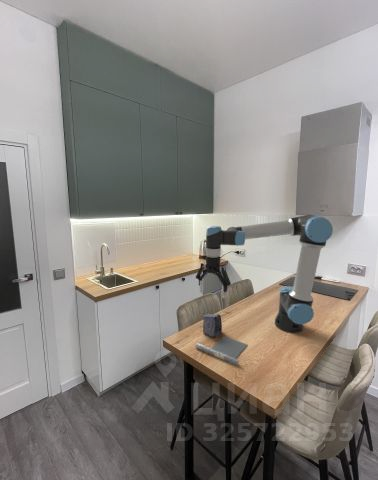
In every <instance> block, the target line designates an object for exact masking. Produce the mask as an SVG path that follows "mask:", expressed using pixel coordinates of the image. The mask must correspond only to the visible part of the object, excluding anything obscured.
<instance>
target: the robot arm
mask: <svg viewBox="0 0 378 480" xmlns="http://www.w3.org/2000/svg"><path fill="white" fill-rule="evenodd" d="M333 231H334V228H333V225H332V223H331V222H330V220H329V219H328V218H325V217H324V216H322V215H314V214H305V215H300V216H295V217H291V218H290V217H289V218H288V219H287V220H281V221H274V222H273V221H272V222H263V223H257V224H250V225H241V226H230V227H228V228H227V229H226V230H223V229H222V227H221V226H219V225H209V226H207V227H206V233H205V234H206V235H205V237H206V238H205V239H206V242H205V255H206V256H205V262H202V263H200V266H199V267H200V268H198V272H197V274H196V275H195V279H197V280H198V286H199V293H202V292H204V291H205V290H204V287H205V286H204V281H205V279H204V278H205V277H206V276H207V275H208V274H213V275H215V276H217V278H218V279H219V281H220V282H221V284H222V285H221V299H225V298H226V293H228V287H229V286H231V285H232V283H231V280H230V277H229V275H228V273H227V268H226V266H221V247H222V246H237V247H238V246H244V245H245V243H246V240H252V239H259V238H268V237H276V236H285V235H289V236H292V237H294V236H300V237H299V241H298V242H299V243H300V244H301V245H300V246H301V248H300V254H299V258H298V262H297V267H296V272H295V277H294V282H293V285H292V286H291V285H290V286H289V285H284V286H281V287H280V290H279V304H278V312H277V314H276V316H275V319H274V326H276V328H278V329H279V330H282V331H285V332H288V333H299V332H302V331H303V329H304V325H306V324H308V323H309V322H311V321H312V320H313V318H314V315H315V314H314V313H315V312H314V309H313V308H312V307H313V302H314V297H313V295H312V289H313V287H314V282H315V277H316V273H317V267H318V265H319V259H320V256H321V250H322V249H323V248H325V247H326V244H327V241H328V240H329V239H330V238H331V237H332V235H333ZM205 268H206V269H205ZM204 269H205V270H204Z"/></svg>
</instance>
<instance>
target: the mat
mask: <svg viewBox="0 0 378 480" xmlns="http://www.w3.org/2000/svg"><path fill="white" fill-rule="evenodd" d="M247 346H248V344H247V343H244V342H242V341H239V340H236V339H235V338H231V337H228V336H227V335H226V336H225V335H224V336H222V337H221V339H219V340H218V341H217V342H216V343H215V344H214V345H213V346H212V347H210V348H211V349H214V350H216V351H218V352H221V353H223V354H226V355H228V356H231V357H233V358H235V359H238V357H239V356H240V355H241V353H242V352H243V351H244V350H245V349H246V347H247Z"/></svg>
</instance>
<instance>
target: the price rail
mask: <svg viewBox="0 0 378 480" xmlns="http://www.w3.org/2000/svg"><path fill="white" fill-rule="evenodd" d="M195 348H196V349H198V350H200V351H202V352H204V353H207V354H209V355H212V357H213V356H214V357H215V358H218V359H220V360H223V361H225V362H227V363H230V364H232V365H234V366H236V367H237V366H239V363H240V360H239V359H238V358H236V359H235V358H233V357H231V356H228V355H226V354H223V353H221V352H218V351H216V350H214V349H211V348H212V347H208V346H206V345H204V344H201V343H199V342H197V343H196V344H195Z"/></svg>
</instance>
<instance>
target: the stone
mask: <svg viewBox="0 0 378 480" xmlns="http://www.w3.org/2000/svg"><path fill="white" fill-rule="evenodd" d="M202 318H203V322H202V333H204V334H206V335H207V336H210V337H212V338H216V337H218V336H219V334H220V335H221V333H222V332H223V331H222V330H223V324H222V316H221V315H220V314H217V313H215V314H214V313H213V314H212V313H208V312H207V313H206V314H204V315H203V316H202Z"/></svg>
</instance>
